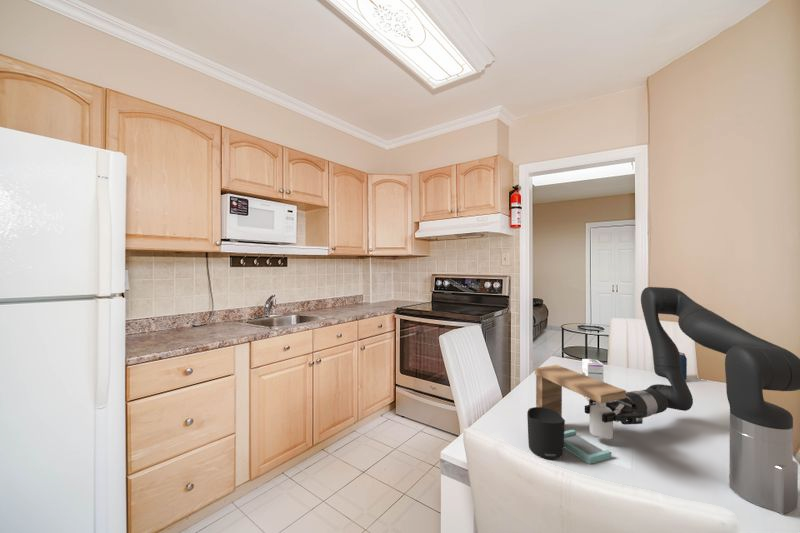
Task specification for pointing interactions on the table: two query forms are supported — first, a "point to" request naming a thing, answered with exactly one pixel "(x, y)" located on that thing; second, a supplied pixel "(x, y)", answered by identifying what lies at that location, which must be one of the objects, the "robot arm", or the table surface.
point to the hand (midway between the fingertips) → (594, 414)
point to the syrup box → (592, 369)
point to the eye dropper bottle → (600, 421)
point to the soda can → (683, 364)
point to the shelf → (570, 387)
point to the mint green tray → (584, 448)
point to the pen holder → (545, 432)
